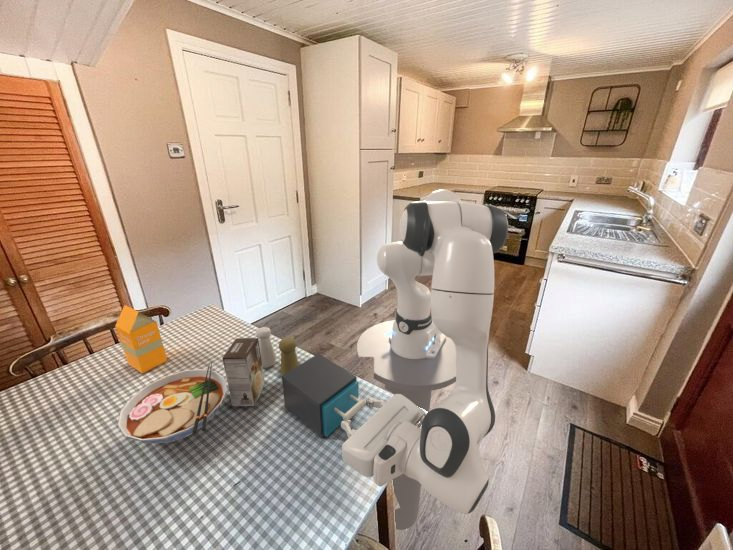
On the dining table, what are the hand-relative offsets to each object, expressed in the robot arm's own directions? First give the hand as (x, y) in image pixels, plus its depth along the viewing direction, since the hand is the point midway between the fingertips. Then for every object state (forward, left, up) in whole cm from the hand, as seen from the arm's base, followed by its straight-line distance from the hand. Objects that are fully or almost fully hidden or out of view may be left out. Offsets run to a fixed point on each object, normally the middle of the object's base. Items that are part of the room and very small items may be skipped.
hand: (355, 411), depth 71 cm
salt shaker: (-1, -40, -8) cm, 40 cm away
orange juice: (+24, -70, -8) cm, 74 cm away
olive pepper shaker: (-4, -32, -8) cm, 33 cm away
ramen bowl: (+26, -36, -8) cm, 45 cm away
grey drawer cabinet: (0, -13, -7) cm, 15 cm away
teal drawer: (0, -9, -6) cm, 11 cm away
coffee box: (+10, -32, -8) cm, 34 cm away
